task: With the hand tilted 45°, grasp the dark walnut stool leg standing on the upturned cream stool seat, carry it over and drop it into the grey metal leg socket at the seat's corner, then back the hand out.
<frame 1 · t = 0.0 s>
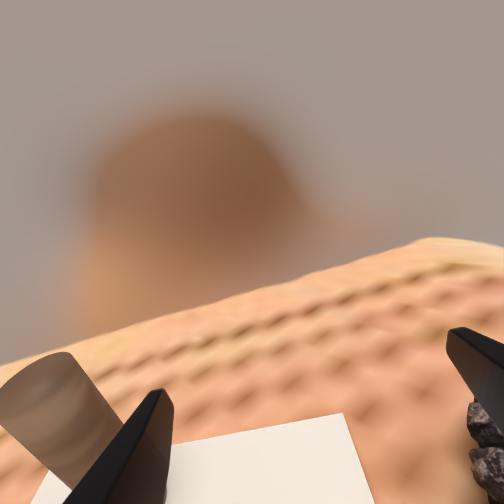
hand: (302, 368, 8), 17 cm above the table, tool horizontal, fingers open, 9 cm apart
stool leg: (141, 502, 19), point 2 cm above the table, touching stool seat
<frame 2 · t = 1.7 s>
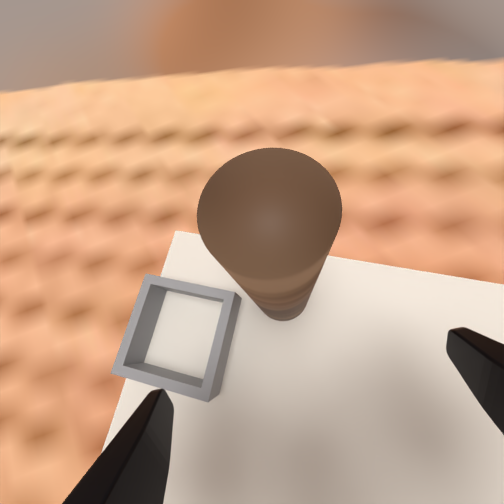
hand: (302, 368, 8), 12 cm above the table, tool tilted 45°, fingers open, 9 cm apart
stool leg: (282, 295, 19), point 2 cm above the table, touching stool seat
stool seat: (302, 442, 17), on the table
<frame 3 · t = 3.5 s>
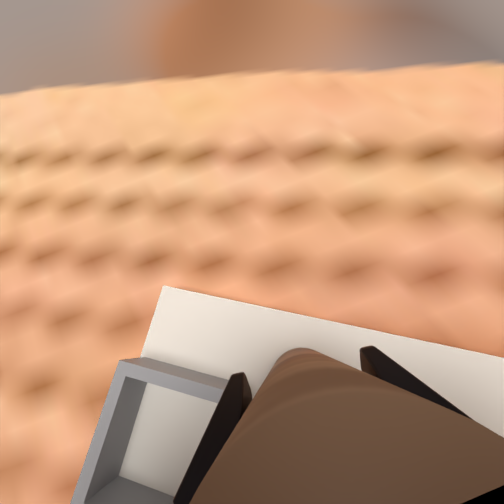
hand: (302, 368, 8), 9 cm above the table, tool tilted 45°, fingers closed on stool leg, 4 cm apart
stool leg: (303, 383, 14), point 2 cm above the table, touching gripper, stool seat
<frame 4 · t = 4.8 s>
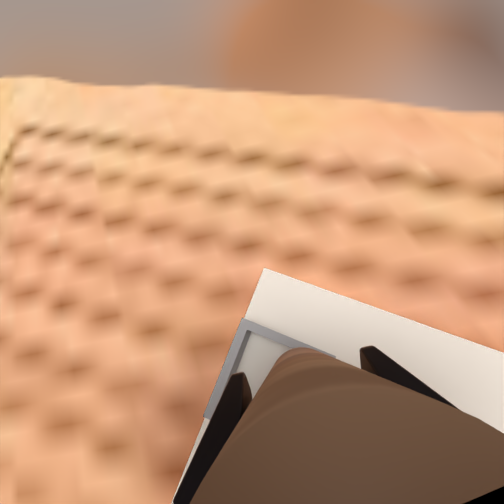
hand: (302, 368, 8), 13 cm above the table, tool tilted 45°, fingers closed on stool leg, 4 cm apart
stool leg: (304, 383, 14), point 7 cm above the table, touching gripper
when the fingers open (10 cm above the table, at t = 6.1 s): stool leg drops 1 cm, resting on stool seat.
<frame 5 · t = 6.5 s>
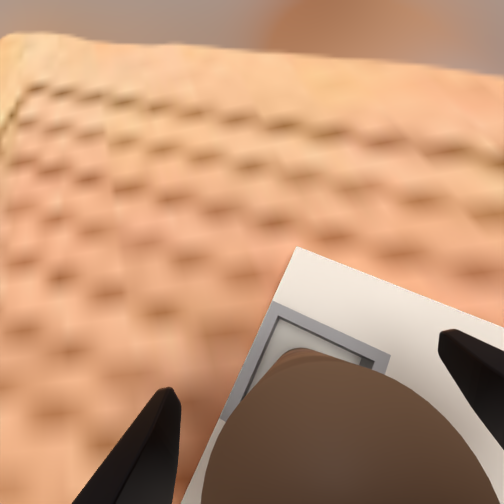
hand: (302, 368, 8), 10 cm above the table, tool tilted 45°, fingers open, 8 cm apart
stool leg: (302, 380, 15), point 2 cm above the table, touching stool seat
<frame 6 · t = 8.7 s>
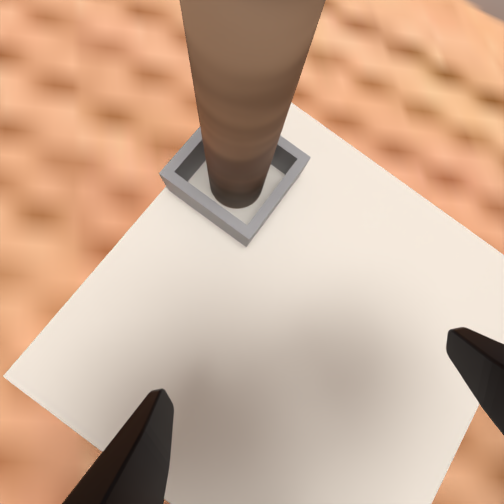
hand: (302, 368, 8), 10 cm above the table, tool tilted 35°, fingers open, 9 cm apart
stool leg: (236, 183, 18), point 2 cm above the table, touching stool seat
stool seat: (294, 319, 19), on the table
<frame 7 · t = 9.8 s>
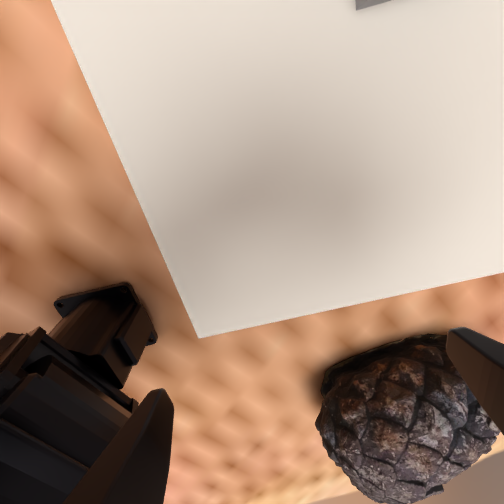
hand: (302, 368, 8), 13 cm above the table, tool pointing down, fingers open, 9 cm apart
stool seat: (322, 140, 18), on the table
pine cone: (387, 363, 27), on the table
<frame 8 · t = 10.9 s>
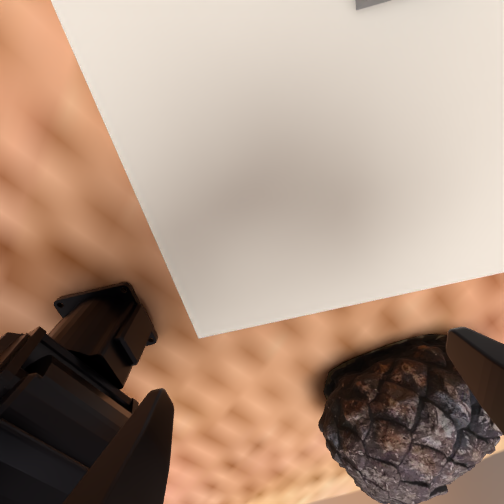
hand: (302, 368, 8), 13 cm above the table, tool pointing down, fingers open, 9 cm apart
stool seat: (322, 140, 18), on the table
pine cone: (389, 364, 27), on the table
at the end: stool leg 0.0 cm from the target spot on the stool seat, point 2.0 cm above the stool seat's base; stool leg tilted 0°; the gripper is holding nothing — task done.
